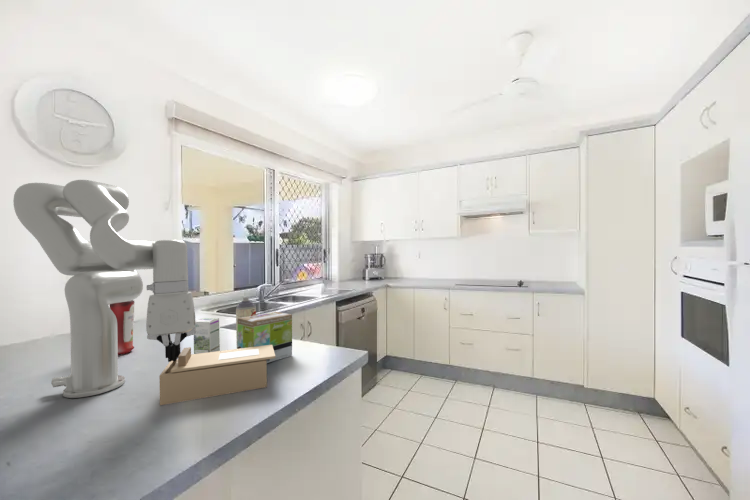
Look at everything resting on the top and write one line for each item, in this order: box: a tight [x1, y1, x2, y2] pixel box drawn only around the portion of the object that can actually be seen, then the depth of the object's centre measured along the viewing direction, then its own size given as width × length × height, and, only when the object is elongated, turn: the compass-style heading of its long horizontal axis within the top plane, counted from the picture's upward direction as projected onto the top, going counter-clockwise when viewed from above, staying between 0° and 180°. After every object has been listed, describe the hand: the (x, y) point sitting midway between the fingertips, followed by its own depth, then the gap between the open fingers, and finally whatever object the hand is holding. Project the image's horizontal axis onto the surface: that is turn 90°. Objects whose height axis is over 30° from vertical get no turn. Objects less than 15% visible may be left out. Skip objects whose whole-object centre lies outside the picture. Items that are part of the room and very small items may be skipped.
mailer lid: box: [171, 345, 275, 373], centre depth 86 cm, size 24×12×3 cm, turn 112°
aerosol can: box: [235, 296, 257, 340], centre depth 116 cm, size 7×7×20 cm
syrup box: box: [193, 317, 221, 354], centre depth 104 cm, size 6×6×14 cm
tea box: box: [236, 311, 293, 364], centre depth 107 cm, size 15×10×15 cm
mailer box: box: [159, 359, 268, 406], centre depth 85 cm, size 24×12×7 cm, turn 112°
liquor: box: [109, 300, 135, 356], centre depth 118 cm, size 7×7×28 cm
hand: (173, 359), depth 81 cm, fingers closed
